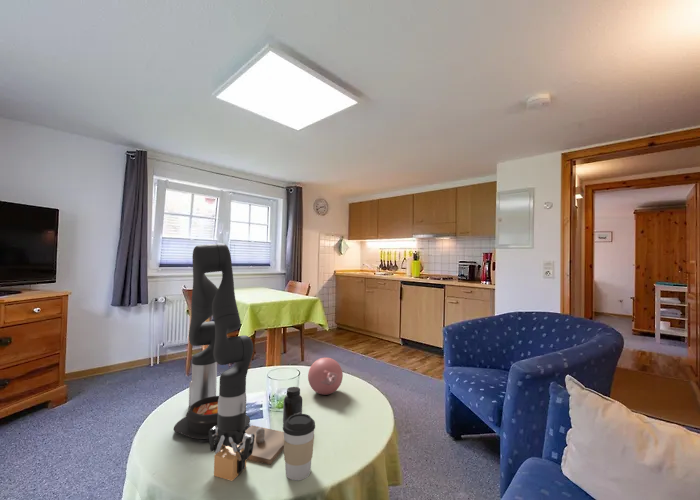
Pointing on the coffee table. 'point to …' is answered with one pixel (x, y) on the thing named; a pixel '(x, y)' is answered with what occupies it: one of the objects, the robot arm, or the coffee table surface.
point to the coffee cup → (298, 445)
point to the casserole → (201, 419)
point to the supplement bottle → (292, 403)
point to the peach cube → (226, 464)
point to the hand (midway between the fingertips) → (230, 468)
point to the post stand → (265, 444)
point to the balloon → (325, 376)
